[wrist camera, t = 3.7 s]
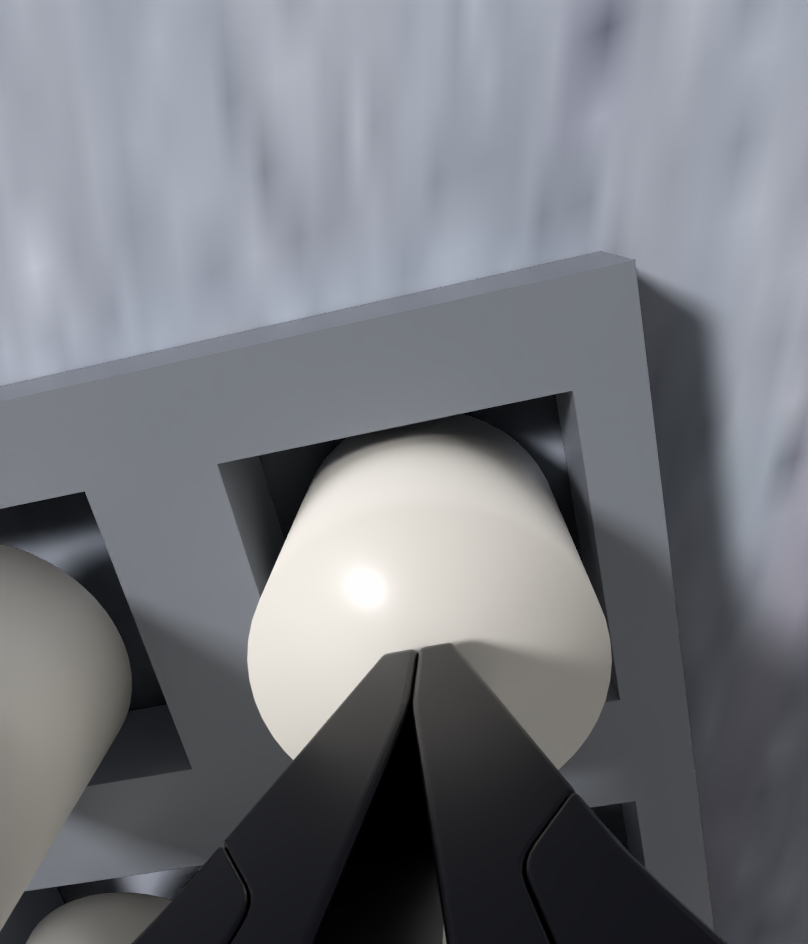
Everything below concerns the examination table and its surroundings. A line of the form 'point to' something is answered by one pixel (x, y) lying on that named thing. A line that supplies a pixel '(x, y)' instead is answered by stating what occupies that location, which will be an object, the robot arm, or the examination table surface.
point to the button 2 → (99, 919)
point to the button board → (261, 540)
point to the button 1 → (50, 707)
